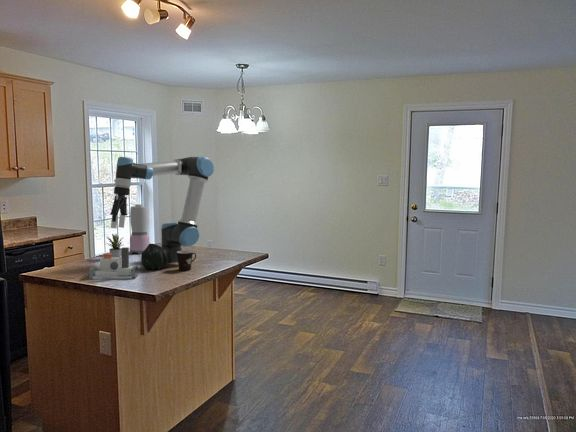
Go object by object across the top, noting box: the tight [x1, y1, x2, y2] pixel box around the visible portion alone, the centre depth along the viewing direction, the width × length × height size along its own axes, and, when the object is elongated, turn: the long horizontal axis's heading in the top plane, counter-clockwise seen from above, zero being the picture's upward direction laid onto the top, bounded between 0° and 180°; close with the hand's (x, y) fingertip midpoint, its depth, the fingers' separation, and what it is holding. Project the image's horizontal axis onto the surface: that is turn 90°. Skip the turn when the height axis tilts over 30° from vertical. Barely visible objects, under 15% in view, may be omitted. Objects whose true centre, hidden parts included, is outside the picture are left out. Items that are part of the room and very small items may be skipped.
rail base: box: [88, 265, 139, 280], centre depth 223 cm, size 22×7×5 cm, turn 98°
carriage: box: [117, 246, 134, 275], centre depth 223 cm, size 7×6×13 cm
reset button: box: [102, 252, 112, 259], centre depth 231 cm, size 4×4×4 cm
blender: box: [129, 203, 150, 255], centre depth 292 cm, size 16×12×32 cm
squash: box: [140, 243, 169, 271], centre depth 246 cm, size 14×15×15 cm
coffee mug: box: [177, 250, 197, 272], centre depth 244 cm, size 12×9×10 cm
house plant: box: [103, 233, 123, 257], centre depth 270 cm, size 14×14×16 cm
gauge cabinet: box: [99, 256, 122, 271], centre depth 232 cm, size 9×6×8 cm
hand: (117, 227), depth 228 cm, fingers open, 13 cm apart
